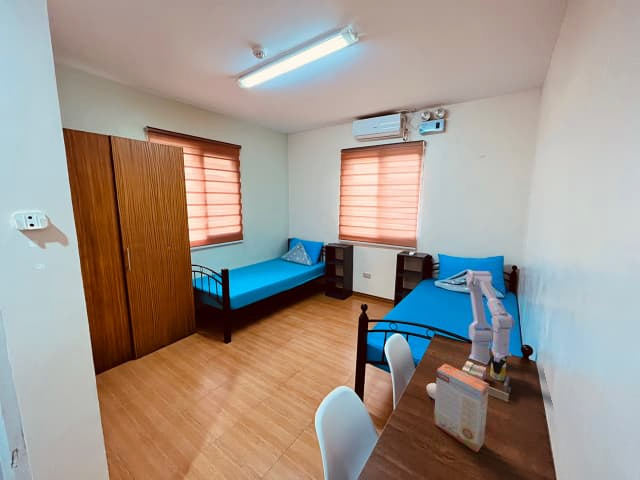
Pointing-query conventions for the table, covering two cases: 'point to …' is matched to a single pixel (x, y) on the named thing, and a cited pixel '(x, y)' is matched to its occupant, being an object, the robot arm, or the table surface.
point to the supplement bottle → (502, 373)
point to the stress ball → (431, 390)
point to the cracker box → (461, 406)
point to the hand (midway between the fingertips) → (498, 370)
